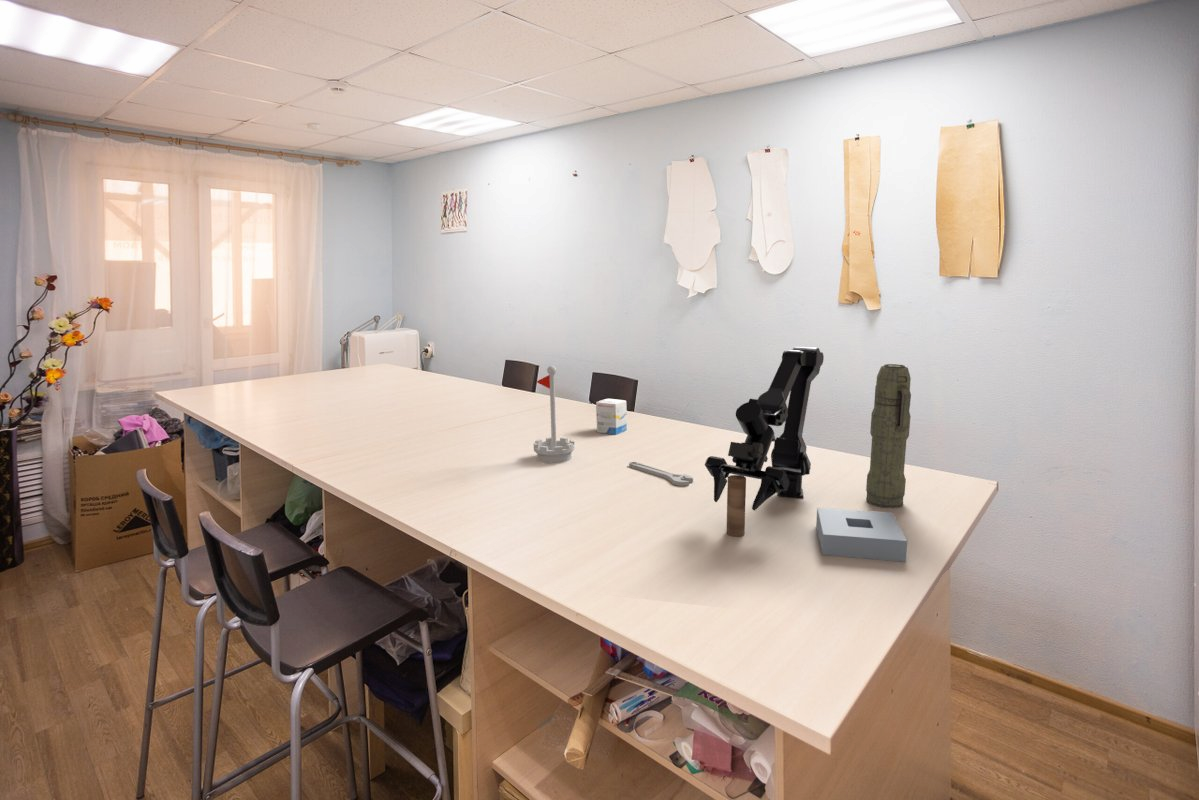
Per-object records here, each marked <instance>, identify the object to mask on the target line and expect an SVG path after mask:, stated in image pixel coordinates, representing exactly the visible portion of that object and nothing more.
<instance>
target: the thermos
mask: <svg viewBox="0 0 1199 800" xmlns="http://www.w3.org/2000/svg"><path fill="white" fill-rule="evenodd" d="M911 380H912V378H911V373H910V371H909V367H908V366H905V365H903V364H897V363H896V364H895V363H894V364H893V363H890V364H889V363H888V364H884V365H881V366H880V368H879V371H878V373H877V375H876V382H875V383H876V384H875V389H874V390H875V391H874V404H873V408H872V411H871V418H870V419H871V420H870V435H871V448H870V460H869V461H870V462H869V464H870V465H869V471H868V472H867V474H866V485H865V487H866V488H865V491H866V498H865V501H866V502H867V504H868V505H869V504H870V505H872V506H874V507H879V508H884V509H897V508H898V509H899V508H900V507H903V506H904V496H905V495H906V481H907V480H906V475H905V465H906V463H905V462H906V450H907V440H908V439H909V437H910V430H911V429H910V428H911V427H910V425H911V412H910V408H911V397H912V394H911Z"/></svg>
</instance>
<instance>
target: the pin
mask: <svg viewBox="0 0 1199 800" xmlns="http://www.w3.org/2000/svg"><path fill="white" fill-rule="evenodd" d="M746 488H747V477H746V476H741V475H735V474H731V475H729V476H728V477H727V490H726V491H727V494H726V495H727V496H726V497H727V498H726V529H725V530H726V531H725V532H726V534H727V535H728V536H731V537H742V536H744V535H745V529H746V528H745V527H746V526H745V525H746V524H745V523H746V521H745V520H746V497H747V496H746V495H747V494H746V492H747V489H746Z"/></svg>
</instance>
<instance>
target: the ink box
mask: <svg viewBox="0 0 1199 800" xmlns="http://www.w3.org/2000/svg"><path fill="white" fill-rule="evenodd" d="M595 408H596V409H595V410H596V411H595V412H596V415H595V416H596V433H602V434H609V435H618V434H620V433H624V432H625V431H627V424H628V423H627V418H628V417H627V400H624V399H615V398H605V399H602V400H599V401H596V402H595Z"/></svg>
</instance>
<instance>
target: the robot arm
mask: <svg viewBox="0 0 1199 800" xmlns="http://www.w3.org/2000/svg"><path fill="white" fill-rule="evenodd" d="M824 356H825V355H824V353H823V352H821V350H820V348H819V347H811V346H810V347H807V346H806V347H805V346H794V347H793V348H791V349H787V350H784V351H783V352H782V355H781V362H780V363H779V365H778V368H777V370H776V373H775V374H774V376H773V379H772V381H771V383H770V385H769V388H768V389H767V391H765V392H764V393H762V394H760V395H759V396H758V398H757V399H756V398H749V400H748V402H745V403H742V404H741V405H740V406H738V408H736V411H735V418H736V419H737V421H738V423H739V425H740V427H741V429H742V431H743V433H744V434H746V438H745V440H744V442H735V441H730V443H729V449H728V453H727V456H728V457H732V460H731V461H732V462H733V464H734V463H735V465H732V464H728V463H727V461H726V459H725V458H724V457H720V456H719V457H718V456H714V455H713V456H712V455H711V456H708V457H707V458H706V460H705V462H704V466H705V467H706V469H707V471H708V473H709V475H710V476H711V477H713V501H714V502H715V503H718V502H719V500H720V498H721V496H722V493H723V492H724V490H725V487H726V485H727V484H728V476H730V474H731V475H740V476H744V477H746V478H753V479H757V480H760V486H759V488H758V490H757V493H756V495H755V498H754V500H753V502H752V506H751V509H752V511H757V509H758V508H759V507H761V506H762V504H764V503H765V502H766V501H768V499H769V498H771V497H772V496H773V495H775V494H776V493H777V496H778V497H787V498H801V499H802V498H805V497H804V496H805V495H804V490H803V487H802V485H803V476H807V475H810V474H811V473H810V472H811V471H810V470H811V465H812V463H811V461H810V459H809V456H808V454H807V445H806V442H805V441H804V438H803V432H804V427H805V426H804V425H805V422H806V421H805V420H806V414H807V409H808V408H807V407H808V403H809V396H810V391H811V386H812V381H814V379H815V378H817V376H818V375H820V371H821V366H823V364H824ZM788 397H789V399H788ZM787 399H788V404H787ZM783 425H784V426H783ZM781 426H783V427H784V428H783V432H782V434H780V436H778V437H776V435H775V431H774V429H773V427H781ZM772 442H773V443H774V444H773V448H772V450H771V453H770V459H771V461H770V462H771V466H770V465H769V466H766V467H765V469H764V470H763V467H764V464H765V463H767V462H768V459H769V458H768V453H769V450H770V447H771V445H772Z"/></svg>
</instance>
